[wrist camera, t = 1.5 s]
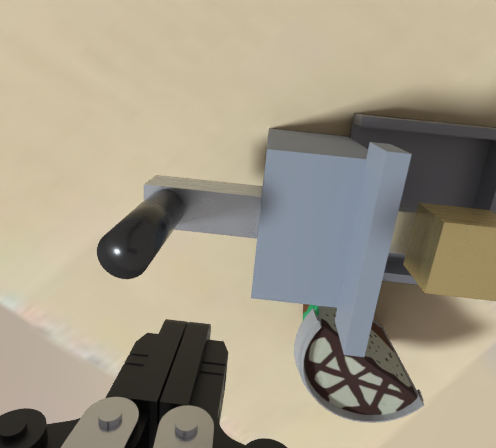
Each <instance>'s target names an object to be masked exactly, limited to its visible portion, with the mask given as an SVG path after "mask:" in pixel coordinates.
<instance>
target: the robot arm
mask: <svg viewBox="0 0 496 448" xmlns="http://www.w3.org/2000/svg"><path fill="white" fill-rule="evenodd" d="M210 331H211V325H210V324H203V323H194V322H189V323H188V322H185V321H176V320H167V319H166V320H165V321H164V324H163V326H162V328H161V330H160V332H159V334H153V333H147V334H145V335H144V336H143V337H141V338H140V339H139V340H138V341H136V343H135V344H134V346H133V348H132V350H131V352H130V355H129V356H128V357H127V359H126V361H125V364H124V365H123V367H122V368H121V370H120V372H119V374H118V376H117V378H116V380H115V381H114V383H113V385H112V387H111V389H110V391H109V393H108V394H107V396H106V398H105V399H102V400H100V401H98V402H96V403H94V404H93V405H91V406H90V407H89V408H88V409H87V410H86V411H85V413H84V414H83V416H82V417H81V418H79V419H76V420H72V421H66V422H59V423H53V424H46V418H45V417H44V415H43V414H42V413H41V412H39V411H37V410H34V409H18V410H13V411H10V412H8V413H5V414H3V415H1V416H0V448H287V447H286V446H285V445H283V444H282V443H280V442H278V441H275V440H272V439H257V440H254V441H251V442H249V443H248V444H247V445H244V444H241V443H239V442H237V441H235V440H233V439H231V438H230V437H229V436H227V435H226V434H225V433H224V431H223V430H222V429H221V427H220V425H219V423H220V417H221V410H222V404H223V398H224V391H225V382H226V371H227V360H228V351H227V348H226V346H225V344H224V342H223V341H215V340H210Z"/></svg>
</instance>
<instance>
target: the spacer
mask: <svg viewBox="0 0 496 448" xmlns="http://www.w3.org/2000/svg"><path fill="white" fill-rule="evenodd" d="M403 265H404V266H405V267H406V269H407V270H408V271H409V273H410V274H411V276H412V277H413V278H414V280H415V281H416V282H417V284H418V285H419V286H420V288H421V289H422V290H423V292H424V293H428V294H437V295H446V296H455V297H464V298H473V299H482V300H491V301H496V214H495V213H493V212H491V211H489V210H486V209H476V208H467V207H457V206H448V205H438V204H429V203H419V204H418V208H417V212H416V216H415V220H414V224H413V228H412V232H411V236H410V240H409V244H408V248H407V252H406V256H405V260H404V264H403Z"/></svg>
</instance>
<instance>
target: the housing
mask: <svg viewBox="0 0 496 448" xmlns="http://www.w3.org/2000/svg"><path fill="white" fill-rule="evenodd" d="M411 155H412V154H411V153H408V152H406V151H404V150H402V149H400V148H398V147H396V146H394V145H391V144H385V143H375V142H370V143H369V148H368V149H367V148H365V147H363V146H362V145H360V144H359V143H357V142H356V141H354V140H352V139H351V138H349V137H348V136H339V135H329V134H319V133H310V132H300V131H290V130H280V129H270V128H269V134H268V143H267V153H266V162H265V171H264V180H263V192H262V202H261V211H260V220H259V229H258V239H257V245H256V255H255V265H254V275H253V284H252V294H251V298H255V299H264V300H273V301H282V302H291V303H299V304H308V305H317V306H326V307H335V308H337V312H336V317H335V323H336V327H337V331H338V335H339V338H340V342H341V346H342V349H343V353H344V355H350V356H358V357H364V356H365V352H366V348H367V344H368V339H369V335H370V331H371V326H372V322H373V318H374V314H375V309H376V305H377V301H378V296H379V292H380V288H381V284H382V279H383V275H384V271H385V266H386V262H387V258H388V254H389V249H390V245H391V241H392V236H393V232H394V228H395V224H396V219H397V215H398V211H399V206H400V202H401V198H402V194H403V189H404V185H405V181H406V176H407V172H408V168H409V164H410V159H411Z"/></svg>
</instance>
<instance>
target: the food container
mask: <svg viewBox="0 0 496 448" xmlns="http://www.w3.org/2000/svg"><path fill="white" fill-rule="evenodd" d="M336 312H337V308H335V307H326V306H317V305H308V304H303V322H302V323H301V325H300V327H299V330H298V332H297V335H296V339H295V344H294V356H295V362H296V365H297V368H298V371H299V373H300V376H301V378H302V381H303V383H304V385H305V386H306V388H307V390H308V391H309V392H310V394H311V395H312V396H313V397H314V398H315V399H316V401H317V402H318V403H319V404H321V405H322V406H323V407H324V408H325V409H327V410H329V411H330V412H332V413H334V414H336V415H338V416H340V417H343V418H346V419H349V420H353V421H359V422H374V423H375V422H386V421H390V420H395V419H398V418H401V417H404V416H407V415H409V414H411V413H413V412H415V411H417V410H418V409H420V408H421V407H423V406H424V404H423V398H422V395H421V392H420V390H419V389H418V390H416V388H415V386H414V384H413V383H412V381H411V379H410V377H409V375H408V373H407V371H406V370H405V368H404V366H403V364H402V362H401V360H400V358H399V357H398V355H397V353H396V351H395V349H394V347H393V345H392V343H391V342H390V340H389V338H388V336H387V334H386V332H385V330H384V329H383V327H382V326H381V325H379V324H378V323H377V322H375V321H374V320H373V322H372V326H371V331H370V335H369V339H368V344H367V348H366V352H365V356H364V357H358V356H350V355H344V353H343V349H342V346H341V342H340V338H339V335H338V331H337V327H336V323H335V317H336Z"/></svg>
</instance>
